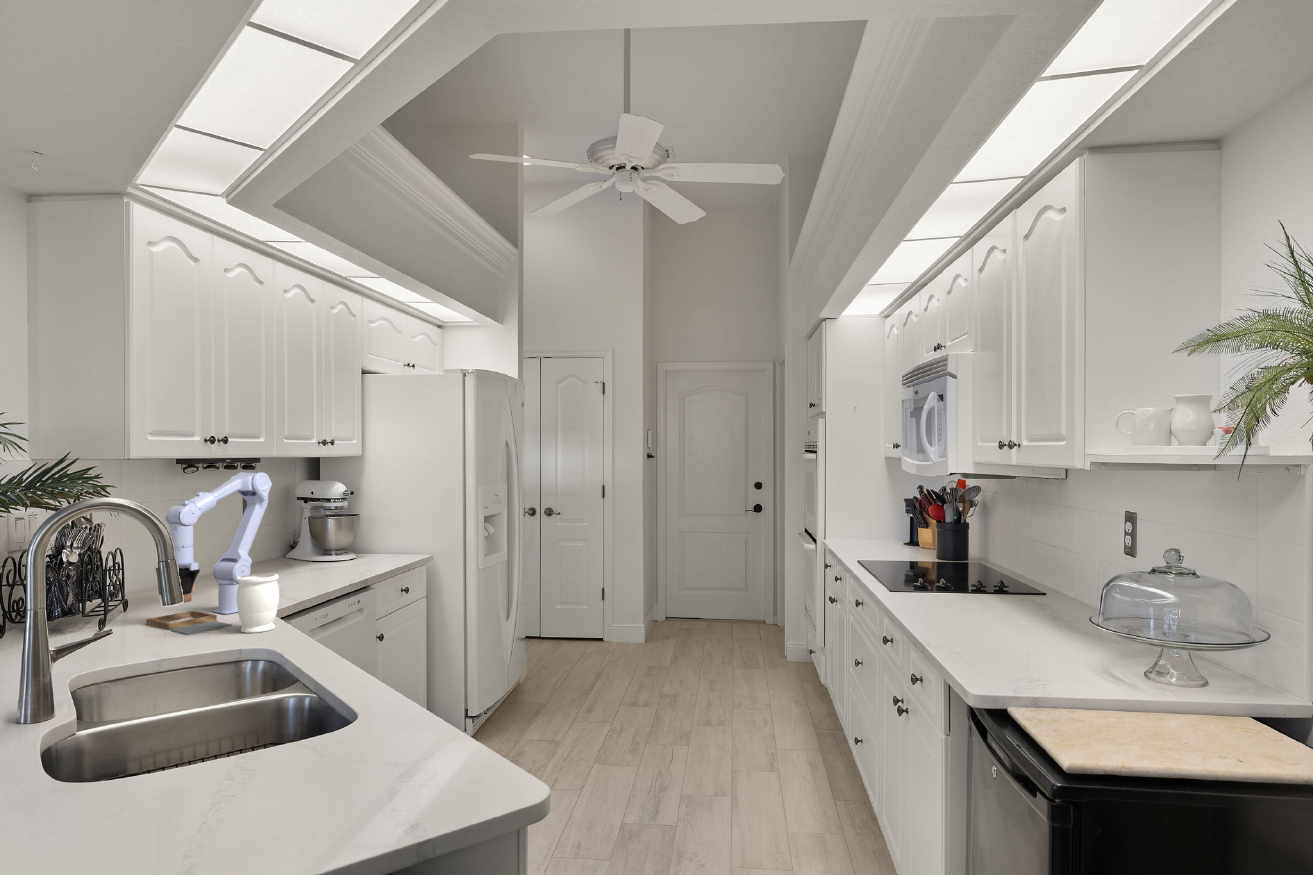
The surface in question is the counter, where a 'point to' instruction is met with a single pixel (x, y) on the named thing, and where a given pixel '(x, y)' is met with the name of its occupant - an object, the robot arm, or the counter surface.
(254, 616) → the jar
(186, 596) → the jug
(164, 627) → the wooden tray
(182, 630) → the mat
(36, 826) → the counter surface
